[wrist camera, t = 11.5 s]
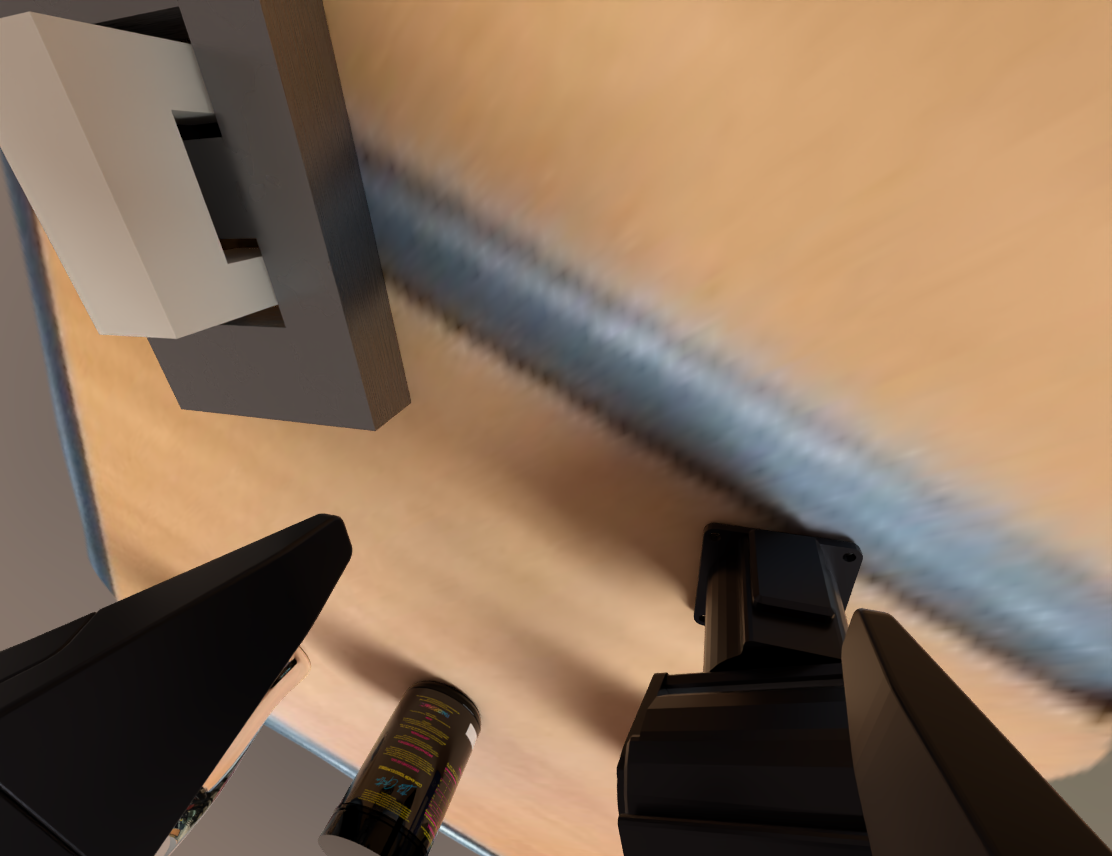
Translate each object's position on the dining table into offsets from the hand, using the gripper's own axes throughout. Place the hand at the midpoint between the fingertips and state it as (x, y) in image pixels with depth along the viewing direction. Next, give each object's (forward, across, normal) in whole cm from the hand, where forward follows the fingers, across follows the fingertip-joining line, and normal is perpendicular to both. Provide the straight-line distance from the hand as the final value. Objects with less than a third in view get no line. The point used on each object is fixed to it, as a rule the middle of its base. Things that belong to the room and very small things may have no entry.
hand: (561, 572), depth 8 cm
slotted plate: (+13, +18, -6) cm, 23 cm away
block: (+13, +18, -6) cm, 23 cm away
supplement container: (+13, +15, +31) cm, 37 cm away
